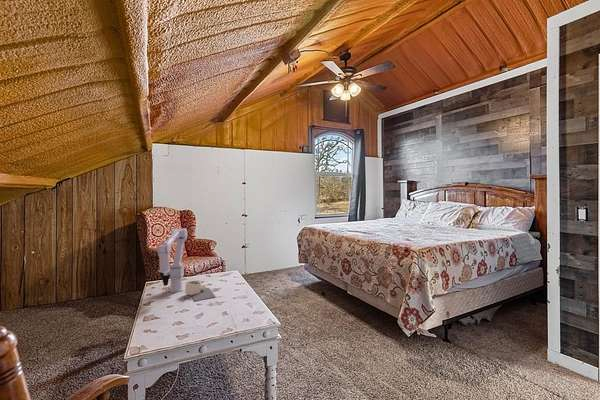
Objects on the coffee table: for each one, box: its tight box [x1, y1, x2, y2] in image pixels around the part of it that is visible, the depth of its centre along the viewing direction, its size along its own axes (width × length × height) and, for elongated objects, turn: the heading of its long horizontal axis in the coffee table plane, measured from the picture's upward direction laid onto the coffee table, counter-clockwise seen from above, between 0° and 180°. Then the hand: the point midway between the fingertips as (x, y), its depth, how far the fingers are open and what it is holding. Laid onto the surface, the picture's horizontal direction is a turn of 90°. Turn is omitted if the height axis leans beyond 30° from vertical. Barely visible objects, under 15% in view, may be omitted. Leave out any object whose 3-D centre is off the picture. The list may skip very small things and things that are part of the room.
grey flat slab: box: [191, 287, 216, 302], centre depth 188 cm, size 20×13×1 cm, turn 30°
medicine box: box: [184, 280, 207, 296], centre depth 191 cm, size 7×7×12 cm
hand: (165, 283), depth 180 cm, fingers open, 7 cm apart
